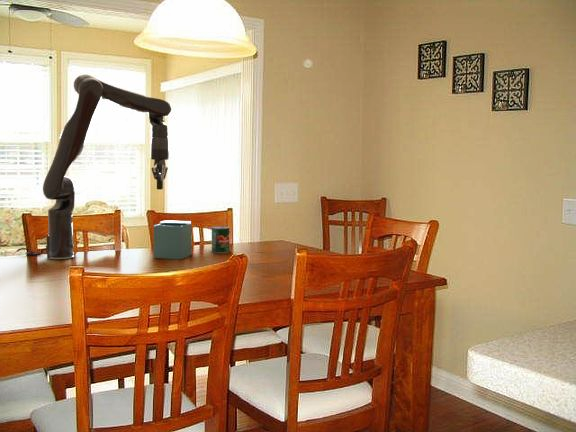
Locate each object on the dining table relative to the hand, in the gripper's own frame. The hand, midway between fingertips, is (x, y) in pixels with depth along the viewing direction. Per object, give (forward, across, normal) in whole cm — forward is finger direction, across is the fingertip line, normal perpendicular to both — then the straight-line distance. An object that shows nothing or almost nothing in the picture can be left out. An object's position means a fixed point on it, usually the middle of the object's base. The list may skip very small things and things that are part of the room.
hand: (159, 189), depth 256 cm
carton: (+28, -5, -8) cm, 29 cm away
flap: (+14, -2, -8) cm, 16 cm away
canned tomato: (+28, +11, -24) cm, 38 cm away
